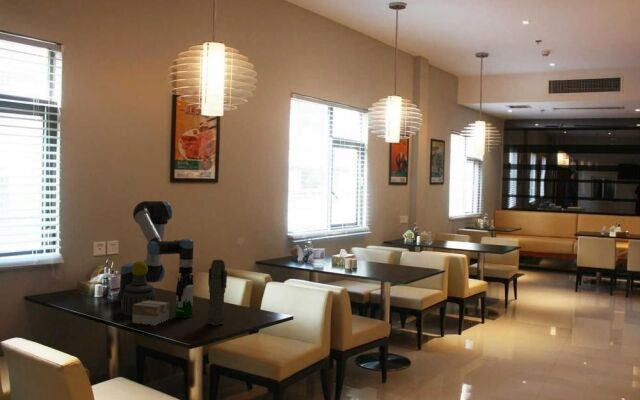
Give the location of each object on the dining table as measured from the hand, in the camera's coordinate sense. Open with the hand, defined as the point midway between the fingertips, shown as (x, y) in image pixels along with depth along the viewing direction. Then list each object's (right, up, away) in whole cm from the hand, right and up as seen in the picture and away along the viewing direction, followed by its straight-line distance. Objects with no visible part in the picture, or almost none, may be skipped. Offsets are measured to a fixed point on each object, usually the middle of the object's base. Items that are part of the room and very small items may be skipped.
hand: (184, 305), depth 332 cm
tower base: (-15, -7, -13) cm, 21 cm away
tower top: (-15, -2, -13) cm, 20 cm away
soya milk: (0, -7, 0) cm, 7 cm away
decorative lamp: (-28, -5, +5) cm, 29 cm away
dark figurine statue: (+20, -8, -12) cm, 25 cm away
